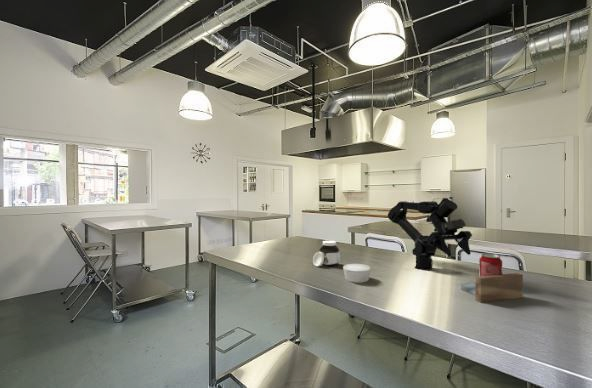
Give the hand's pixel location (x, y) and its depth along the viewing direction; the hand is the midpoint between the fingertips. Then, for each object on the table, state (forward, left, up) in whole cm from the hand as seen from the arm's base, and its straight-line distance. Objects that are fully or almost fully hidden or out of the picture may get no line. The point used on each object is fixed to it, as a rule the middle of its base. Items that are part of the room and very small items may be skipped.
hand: (460, 255), depth 110 cm
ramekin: (-33, -24, -12) cm, 43 cm away
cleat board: (+10, -7, -11) cm, 16 cm away
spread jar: (-55, -15, -11) cm, 59 cm away
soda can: (+11, -6, -9) cm, 16 cm away
